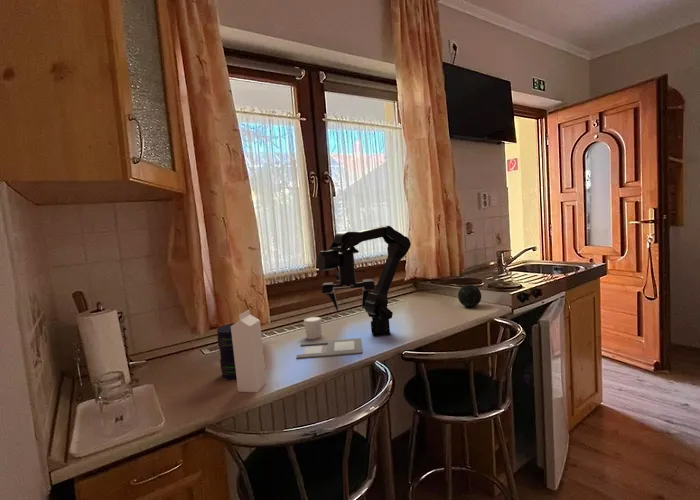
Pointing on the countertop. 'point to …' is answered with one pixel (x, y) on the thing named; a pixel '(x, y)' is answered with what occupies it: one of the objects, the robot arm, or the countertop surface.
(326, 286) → the robot arm
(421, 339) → the countertop surface
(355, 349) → the label board
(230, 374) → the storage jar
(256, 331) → the milk
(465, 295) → the decorative stone
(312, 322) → the shot glass
